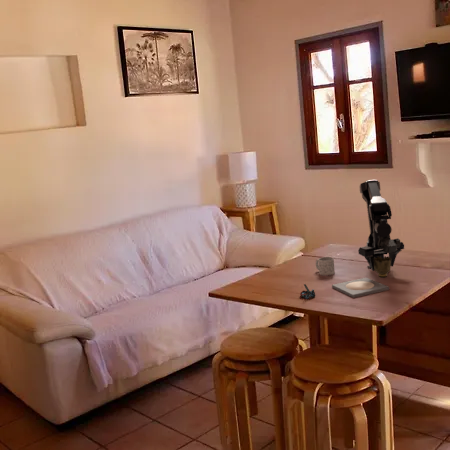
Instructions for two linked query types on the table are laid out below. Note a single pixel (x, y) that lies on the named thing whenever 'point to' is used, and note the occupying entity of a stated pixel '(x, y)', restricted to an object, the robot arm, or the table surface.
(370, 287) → the board
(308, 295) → the dark blue lumpy piece
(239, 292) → the table surface
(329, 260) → the mug
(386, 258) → the brown mottled round piece
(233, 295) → the table surface
